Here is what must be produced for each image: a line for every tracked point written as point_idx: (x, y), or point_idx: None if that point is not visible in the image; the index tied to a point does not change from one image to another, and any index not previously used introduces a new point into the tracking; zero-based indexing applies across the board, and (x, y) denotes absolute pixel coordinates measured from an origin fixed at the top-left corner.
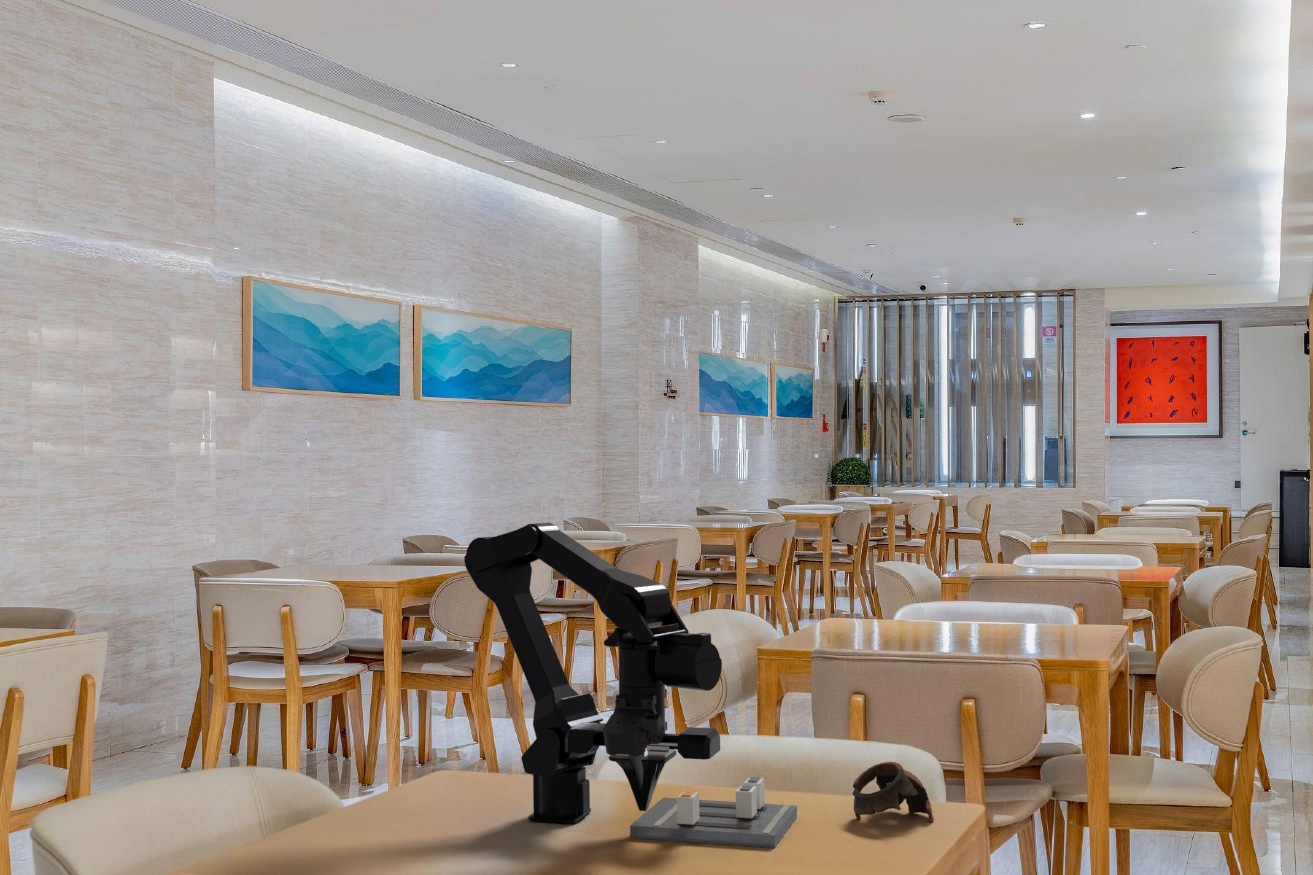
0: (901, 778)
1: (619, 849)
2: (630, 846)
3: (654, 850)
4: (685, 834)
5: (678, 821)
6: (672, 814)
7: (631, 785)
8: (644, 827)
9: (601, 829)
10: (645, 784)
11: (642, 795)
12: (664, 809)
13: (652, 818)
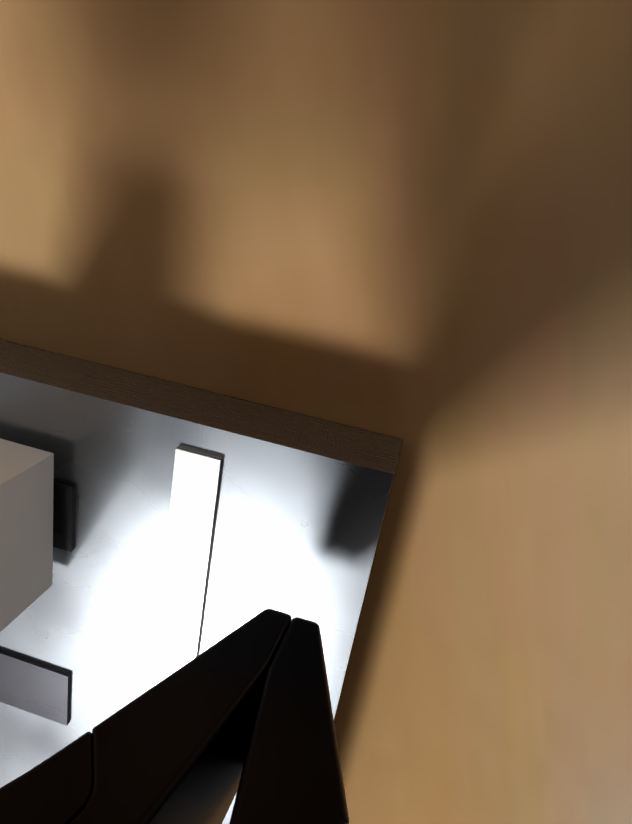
0: None
1: (456, 142)
2: (379, 232)
3: (197, 141)
4: (24, 361)
5: (38, 457)
6: None
7: (331, 812)
8: (283, 442)
9: (622, 636)
10: (137, 763)
11: (239, 689)
12: None
13: None
